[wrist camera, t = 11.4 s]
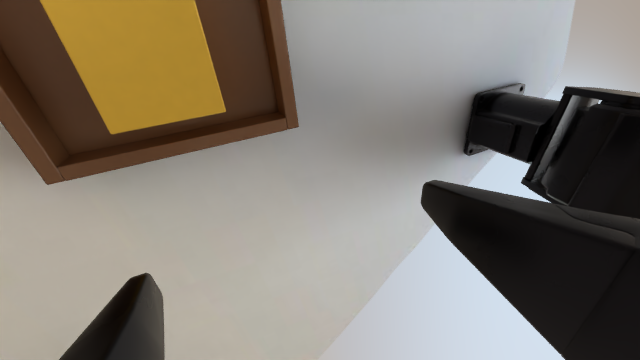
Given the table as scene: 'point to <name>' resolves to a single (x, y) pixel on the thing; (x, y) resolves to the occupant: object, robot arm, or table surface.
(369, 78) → the table surface
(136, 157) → the tray
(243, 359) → the table surface
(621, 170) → the robot arm
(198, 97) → the block
